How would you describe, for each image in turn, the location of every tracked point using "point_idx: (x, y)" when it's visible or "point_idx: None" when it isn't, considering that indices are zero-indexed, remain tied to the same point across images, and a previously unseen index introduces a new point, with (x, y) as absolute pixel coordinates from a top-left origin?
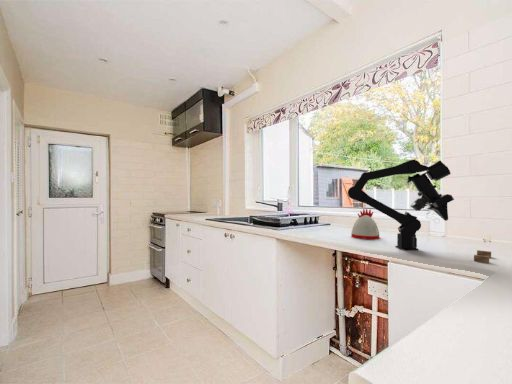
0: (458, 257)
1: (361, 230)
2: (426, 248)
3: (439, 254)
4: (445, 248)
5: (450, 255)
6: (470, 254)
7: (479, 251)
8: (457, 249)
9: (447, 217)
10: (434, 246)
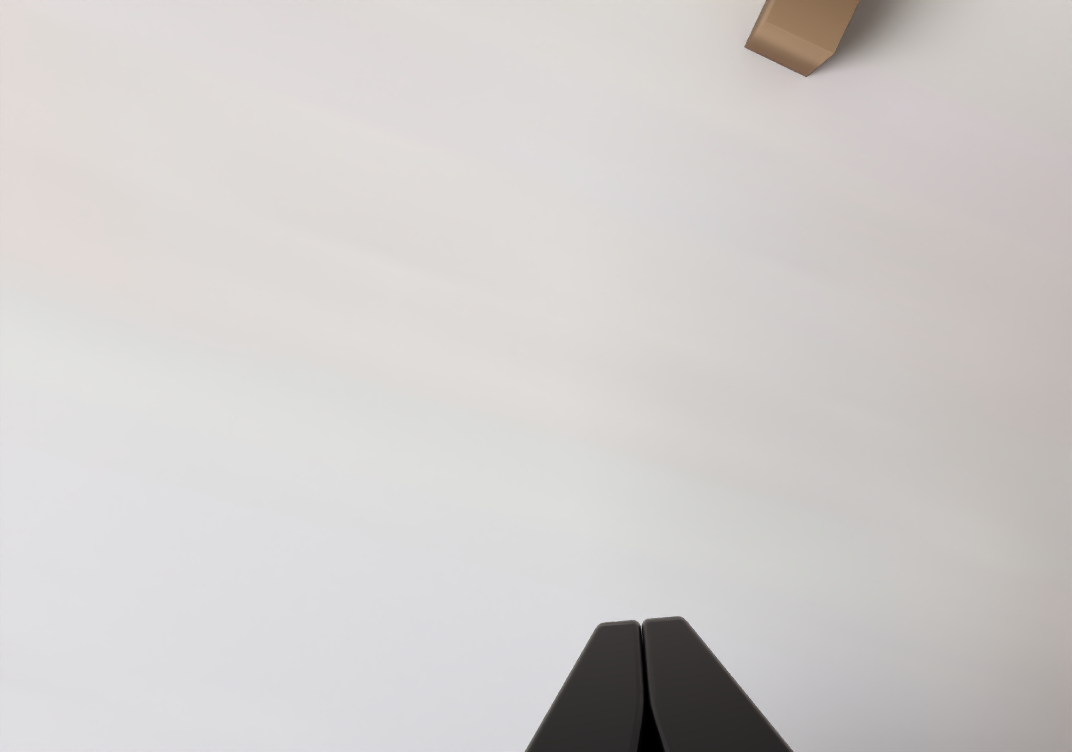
0: (1021, 420)
1: None
2: (383, 725)
3: (874, 648)
4: (251, 381)
5: (899, 495)
6: (695, 132)
7: (846, 21)
8: (277, 192)
9: (726, 682)
10: (104, 525)
